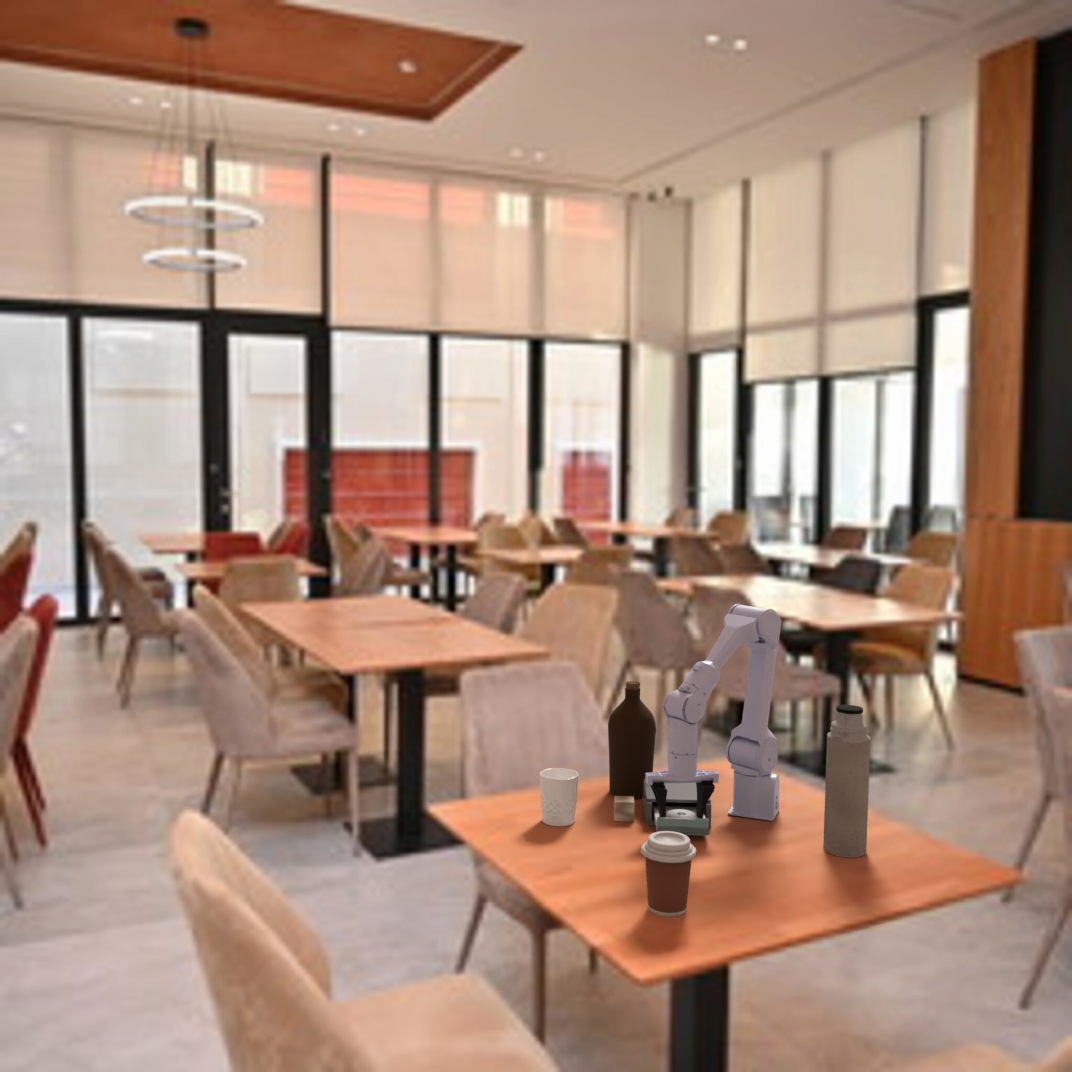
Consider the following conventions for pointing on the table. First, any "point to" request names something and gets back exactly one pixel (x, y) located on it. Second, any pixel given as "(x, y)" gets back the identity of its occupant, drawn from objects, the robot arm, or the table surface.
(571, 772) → the white cup
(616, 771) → the olive oil
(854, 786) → the thermos bottle
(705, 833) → the tray
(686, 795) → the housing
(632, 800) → the birch block
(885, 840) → the table surface
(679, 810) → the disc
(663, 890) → the coffee cup
